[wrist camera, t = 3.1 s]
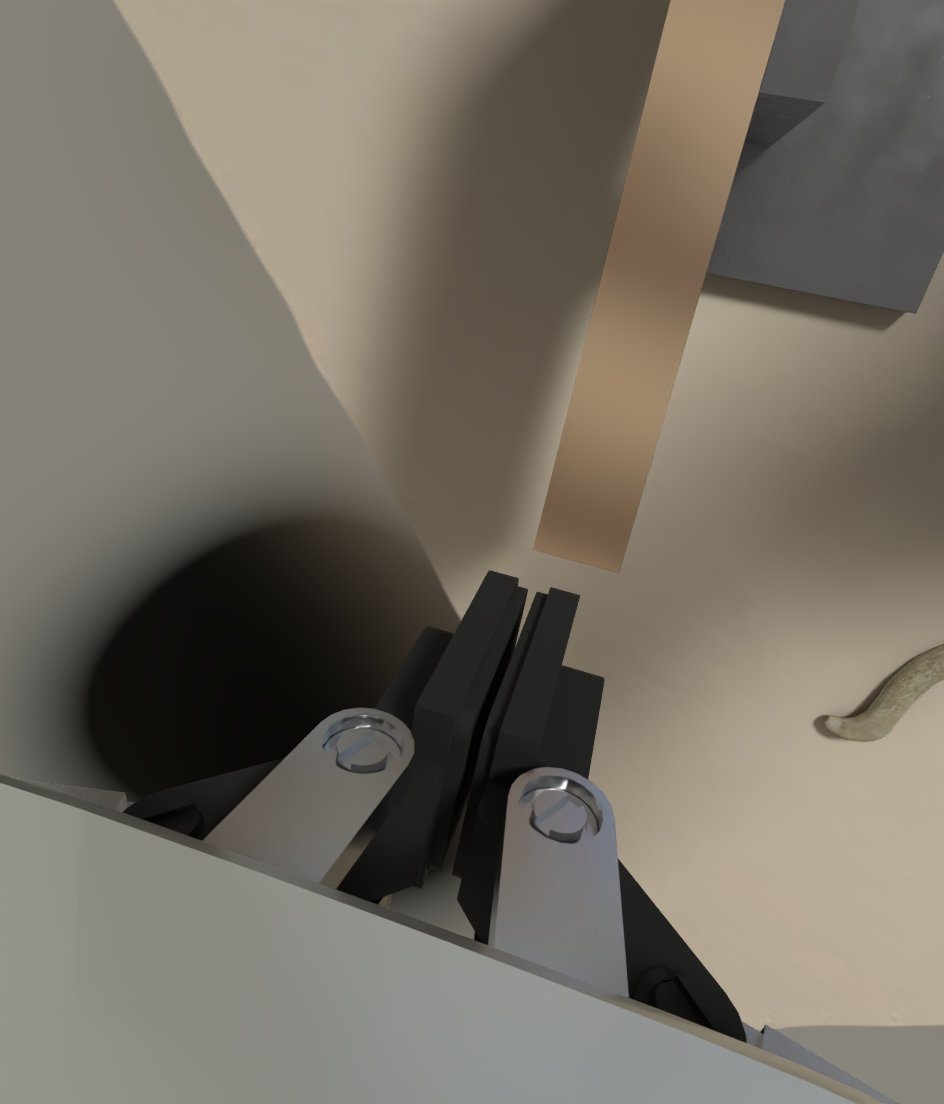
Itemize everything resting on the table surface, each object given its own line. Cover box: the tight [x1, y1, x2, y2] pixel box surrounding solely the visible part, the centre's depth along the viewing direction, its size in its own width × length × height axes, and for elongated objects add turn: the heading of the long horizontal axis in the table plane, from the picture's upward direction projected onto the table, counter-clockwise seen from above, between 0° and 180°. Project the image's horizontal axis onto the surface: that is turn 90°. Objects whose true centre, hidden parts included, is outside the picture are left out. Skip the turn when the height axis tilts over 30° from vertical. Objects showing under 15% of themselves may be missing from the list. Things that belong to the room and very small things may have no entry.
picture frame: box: [533, 0, 785, 573], centre depth 23 cm, size 32×3×18 cm, turn 171°
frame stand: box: [706, 0, 944, 314], centre depth 28 cm, size 16×12×19 cm
